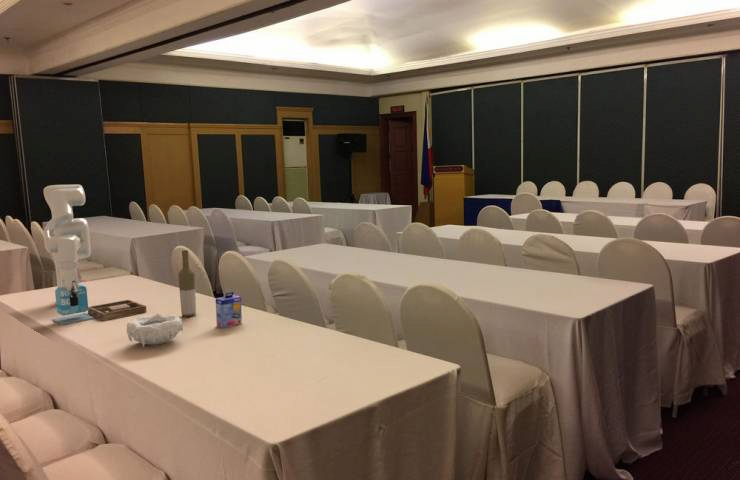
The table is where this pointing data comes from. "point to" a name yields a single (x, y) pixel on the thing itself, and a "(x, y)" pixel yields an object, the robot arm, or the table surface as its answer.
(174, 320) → the bowl
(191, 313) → the bottle
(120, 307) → the offcut stack
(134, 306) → the rack
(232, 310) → the ink cartridge box
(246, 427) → the table surface
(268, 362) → the table surface
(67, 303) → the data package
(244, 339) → the table surface
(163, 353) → the table surface
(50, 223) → the robot arm
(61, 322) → the mat
